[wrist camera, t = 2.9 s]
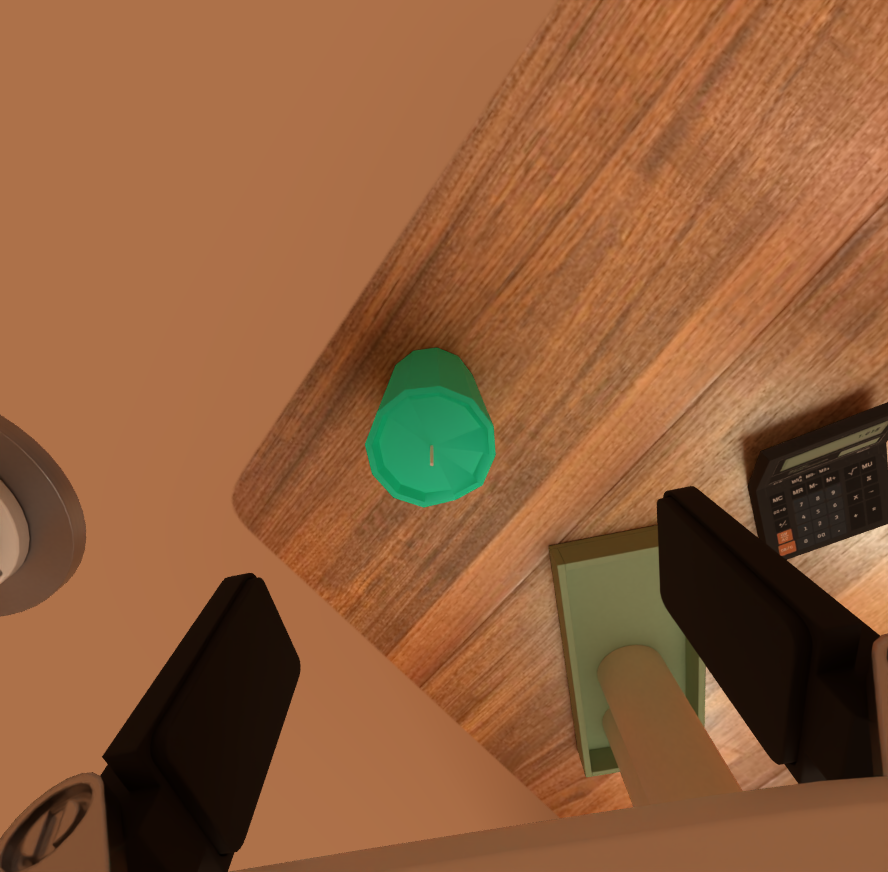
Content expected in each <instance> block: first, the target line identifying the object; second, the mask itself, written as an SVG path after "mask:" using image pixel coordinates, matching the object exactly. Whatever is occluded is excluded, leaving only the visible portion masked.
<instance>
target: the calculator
mask: <svg viewBox="0 0 888 872" xmlns="http://www.w3.org/2000/svg"><path fill="white" fill-rule="evenodd" d="M887 441H888V402H887V403H885V404H882V405H879V406H877V407H874V408H872V409H869V410H866V411H864V412H861V413H859V414H856V415H853V416H851V417H848V418H846V419H843V420H841V421H838V422H835V423H833V424H830V425H828V426H825V427H822V428H820V429H817V430H815V431H812V432H810V433H807V434H804V435H802V436H799V437H797V438H794V439H791V440H789V441H786V442H784V443H781V444H778V445H776V446H773V447H771V448H768V449H766V450H763V451H761V452H760V455H759V457H758V460H757V463H756V466H755V468H754V471H753V474H752V476H751V479H750V482H749V485H748V488H749V493H750V498H751V503H752V508H753V513H754V517H755V522H756V527H757V532H758V537H759V539H760V540H761V541H763V542H765V543H766V544H767V545H768V546H770V547H771V548H772V549H773V550H775V551H776V552H777V553H778V554H779V555H781V556H782V557H783V558H784V559H786V560H787V559H790V558H793V557H796V556H798V555H801V554H804V553H807V552H810V551H813V550H815V549H818V548H821V547H824V546H827V545H830V544H832V543H835V542H838V541H841V540H844V539H847V538H849V537H852V536H855V535H858V534H861V533H864V532H866V531H869V530H872V529H875V528H878V527H881V526H883V525H886V524H888V461H887V447H886V442H887Z"/></svg>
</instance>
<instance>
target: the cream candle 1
mask: <svg viewBox="0 0 888 872" xmlns="http://www.w3.org/2000/svg"><path fill="white" fill-rule="evenodd" d="M602 725H603V728H604V731H605V734H606V736H607V739H608V741H609V744H610V747H611V749H612V752H613V755H614V757H615V760H616V762H617V765H618V768H619V770H620V773H621V775H622V778H623V781H624V783H625V786H626V789H627V791H628V794H629V796H630V799H631V802H632V804H633V807H639V806H646V805H650V804H649V801H648V799H647V797H646V794H645V792H644V789H643V787H642V785H641V782H640V780H639V777H638V775H637V773H636V770H635V768H634V765H633V763H632V760H631V758H630V756H629V753H628V751H627V748H626V746H625V744H624V741H623V739H622V736H621V734H620V731H619V729H618V727H617V724H616V722H615V719H614V717H613V715H612V712H611V710H610V708H609V709H608V710H607V711H606V712H605V714H604V716H603V720H602Z"/></svg>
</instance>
